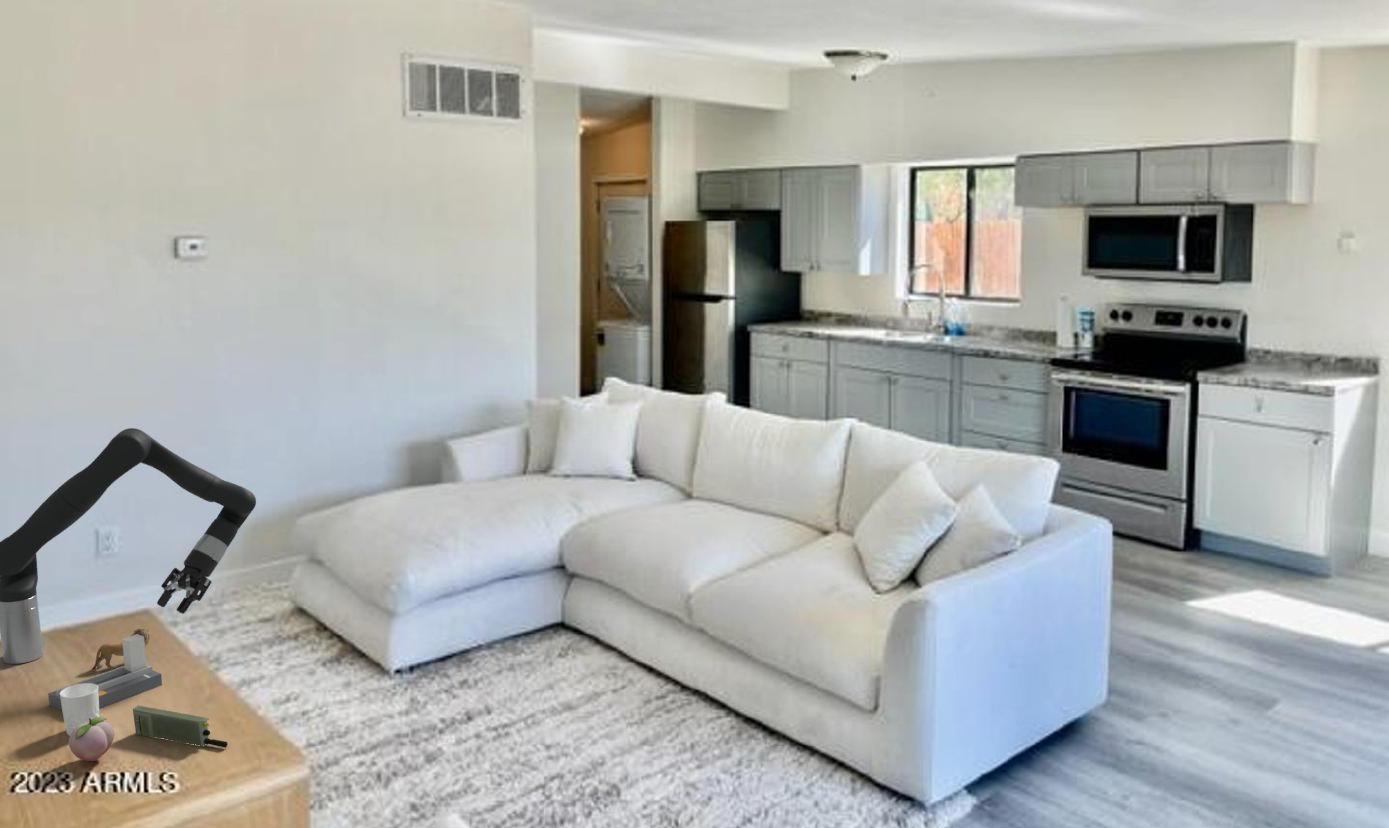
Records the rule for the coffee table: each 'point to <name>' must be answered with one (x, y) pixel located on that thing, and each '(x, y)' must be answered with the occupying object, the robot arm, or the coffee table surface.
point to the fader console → (115, 685)
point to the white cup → (79, 704)
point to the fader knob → (134, 653)
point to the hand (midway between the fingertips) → (169, 609)
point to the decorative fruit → (91, 739)
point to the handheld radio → (173, 726)
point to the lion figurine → (116, 649)
